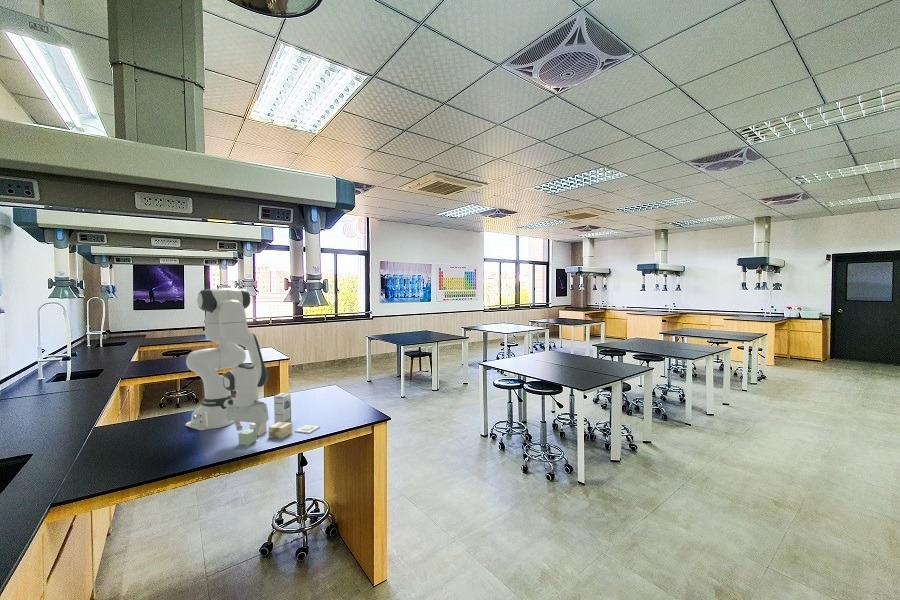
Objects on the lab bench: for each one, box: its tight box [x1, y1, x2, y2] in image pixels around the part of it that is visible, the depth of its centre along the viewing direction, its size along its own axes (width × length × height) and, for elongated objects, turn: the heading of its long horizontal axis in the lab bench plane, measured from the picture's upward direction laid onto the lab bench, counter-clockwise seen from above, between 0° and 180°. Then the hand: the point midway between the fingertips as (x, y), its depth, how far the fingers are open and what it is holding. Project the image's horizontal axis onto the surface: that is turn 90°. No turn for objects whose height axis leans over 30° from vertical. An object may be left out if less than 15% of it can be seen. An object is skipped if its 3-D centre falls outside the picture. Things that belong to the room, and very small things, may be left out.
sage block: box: [237, 428, 258, 446], centre depth 161 cm, size 5×5×5 cm
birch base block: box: [268, 422, 293, 439], centre depth 169 cm, size 7×7×5 cm
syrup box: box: [273, 392, 292, 424], centre depth 185 cm, size 6×6×14 cm
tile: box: [294, 424, 321, 434], centre depth 175 cm, size 8×8×1 cm
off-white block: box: [249, 422, 268, 436], centre depth 171 cm, size 5×5×5 cm
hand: (247, 431), depth 160 cm, fingers open, 8 cm apart
